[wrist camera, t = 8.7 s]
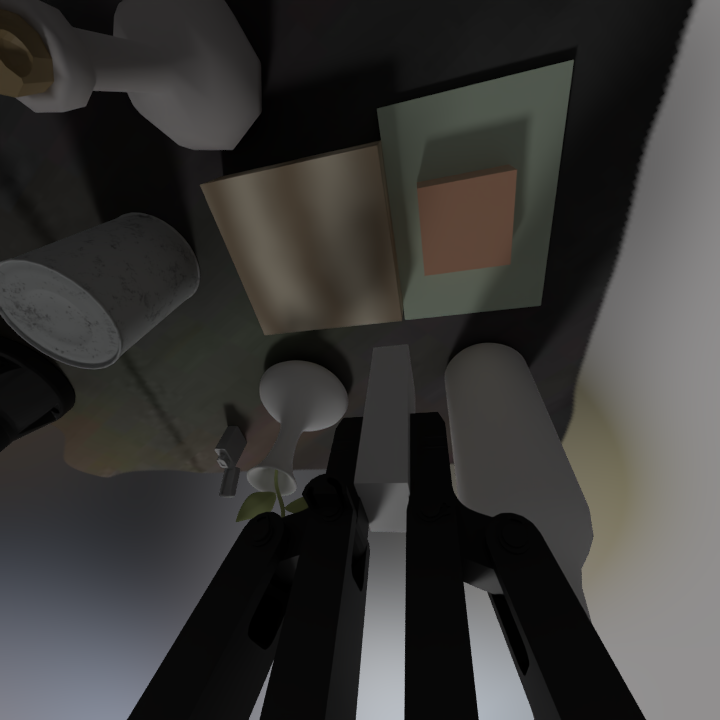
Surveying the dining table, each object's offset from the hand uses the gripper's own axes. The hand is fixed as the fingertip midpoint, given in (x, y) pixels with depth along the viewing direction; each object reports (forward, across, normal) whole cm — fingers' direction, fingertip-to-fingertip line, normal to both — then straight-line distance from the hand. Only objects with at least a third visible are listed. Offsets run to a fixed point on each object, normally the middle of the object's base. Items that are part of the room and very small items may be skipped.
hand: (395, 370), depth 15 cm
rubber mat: (+19, +6, 0) cm, 20 cm away
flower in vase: (+20, -14, -17) cm, 30 cm away
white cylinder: (+20, -26, +2) cm, 33 cm away
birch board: (+20, -8, +1) cm, 21 cm away
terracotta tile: (+19, +5, +1) cm, 20 cm away
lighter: (+20, -29, -27) cm, 44 cm away
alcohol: (+20, +7, -16) cm, 27 cm away
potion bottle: (+20, -12, +14) cm, 27 cm away
